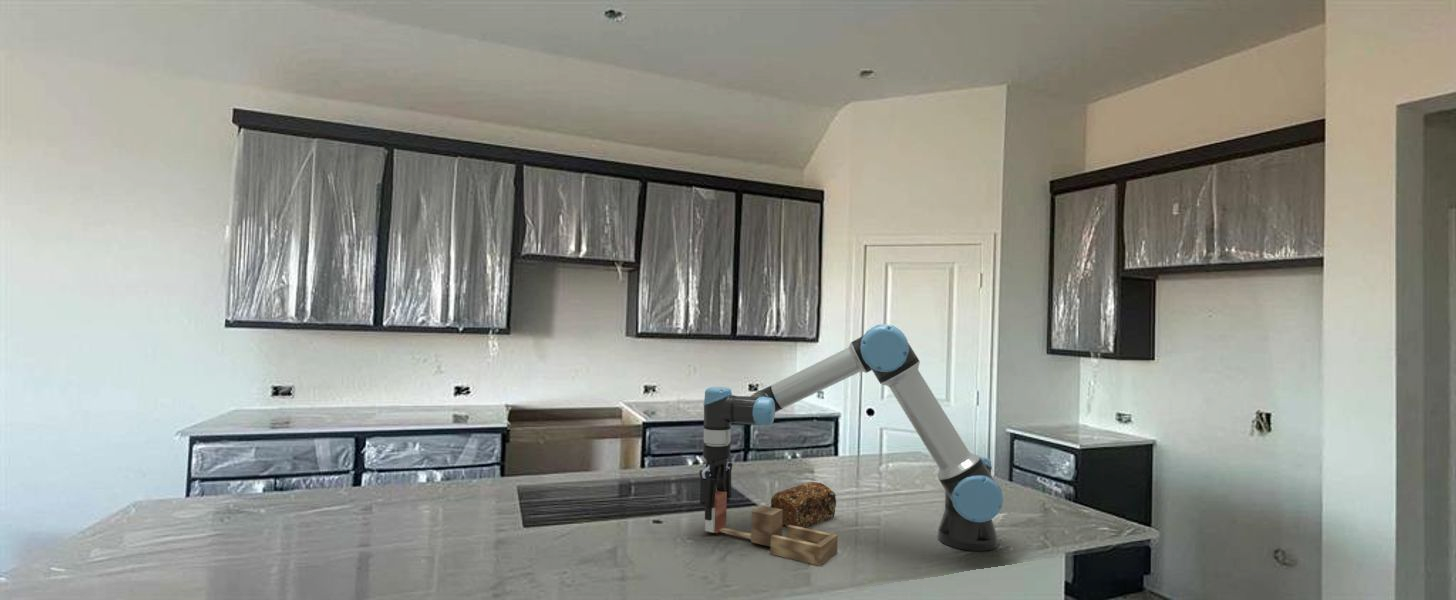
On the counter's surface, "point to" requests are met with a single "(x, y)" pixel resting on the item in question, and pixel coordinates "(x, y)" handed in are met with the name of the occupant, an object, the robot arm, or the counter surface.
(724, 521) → the tethered block
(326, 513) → the counter surface
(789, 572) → the counter surface
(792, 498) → the bread
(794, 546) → the frame
